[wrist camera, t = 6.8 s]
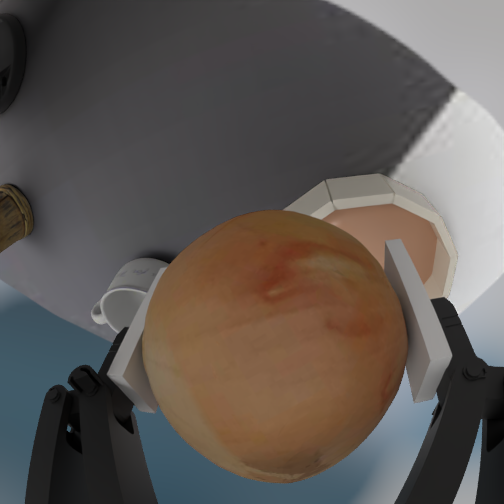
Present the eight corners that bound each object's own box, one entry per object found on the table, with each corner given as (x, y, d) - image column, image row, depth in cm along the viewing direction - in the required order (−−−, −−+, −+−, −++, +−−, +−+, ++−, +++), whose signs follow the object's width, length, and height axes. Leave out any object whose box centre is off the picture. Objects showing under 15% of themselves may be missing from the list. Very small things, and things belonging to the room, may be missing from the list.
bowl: (247, 190, 32) (241, 212, 28) (446, 168, 28) (467, 186, 23) (281, 332, 44) (280, 359, 40) (427, 312, 39) (436, 337, 35)
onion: (150, 202, 14) (22, 381, 6) (370, 152, 11) (502, 356, 3) (218, 341, 19) (183, 494, 11) (381, 319, 16) (411, 488, 8)
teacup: (192, 247, 37) (173, 292, 30) (203, 311, 43) (190, 356, 36) (96, 244, 38) (67, 282, 32) (117, 303, 44) (96, 342, 38)
